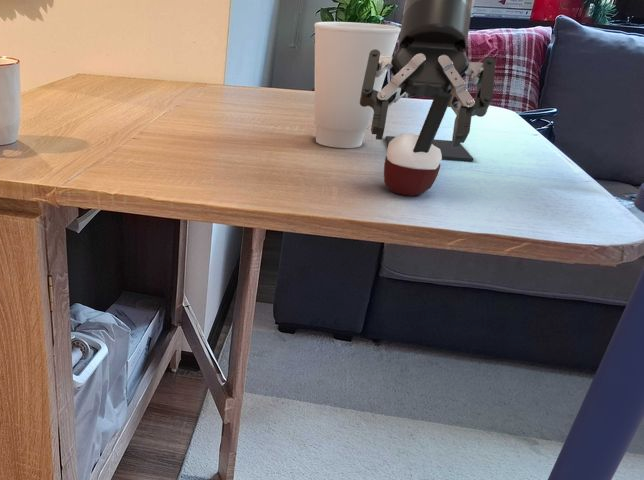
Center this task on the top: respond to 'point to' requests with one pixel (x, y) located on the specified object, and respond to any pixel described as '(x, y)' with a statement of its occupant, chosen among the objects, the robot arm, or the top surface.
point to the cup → (346, 78)
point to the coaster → (447, 150)
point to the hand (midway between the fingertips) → (417, 139)
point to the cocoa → (416, 154)
